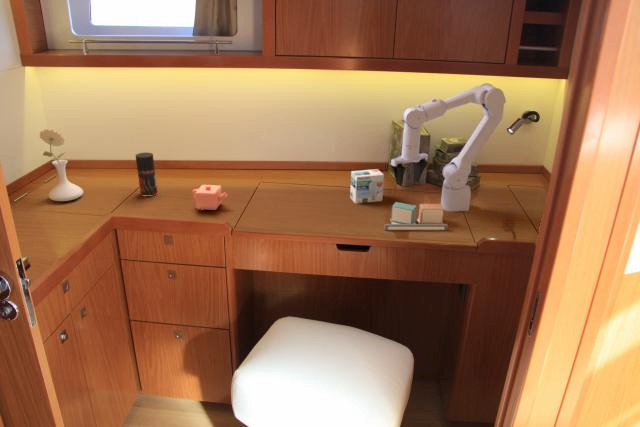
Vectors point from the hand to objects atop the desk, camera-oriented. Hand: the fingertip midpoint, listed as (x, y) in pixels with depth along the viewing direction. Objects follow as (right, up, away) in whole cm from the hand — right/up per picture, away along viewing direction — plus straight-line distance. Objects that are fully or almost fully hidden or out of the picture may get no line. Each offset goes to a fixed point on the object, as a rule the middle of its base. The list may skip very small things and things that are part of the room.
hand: (407, 182), depth 177 cm
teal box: (-3, -13, -7) cm, 15 cm away
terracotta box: (+6, -13, -7) cm, 16 cm away
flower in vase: (-122, -5, +9) cm, 123 cm away
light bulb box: (-13, -6, +11) cm, 18 cm away
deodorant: (-93, -4, +14) cm, 95 cm away
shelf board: (0, -13, -5) cm, 14 cm away
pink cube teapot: (-68, -9, +3) cm, 69 cm away
